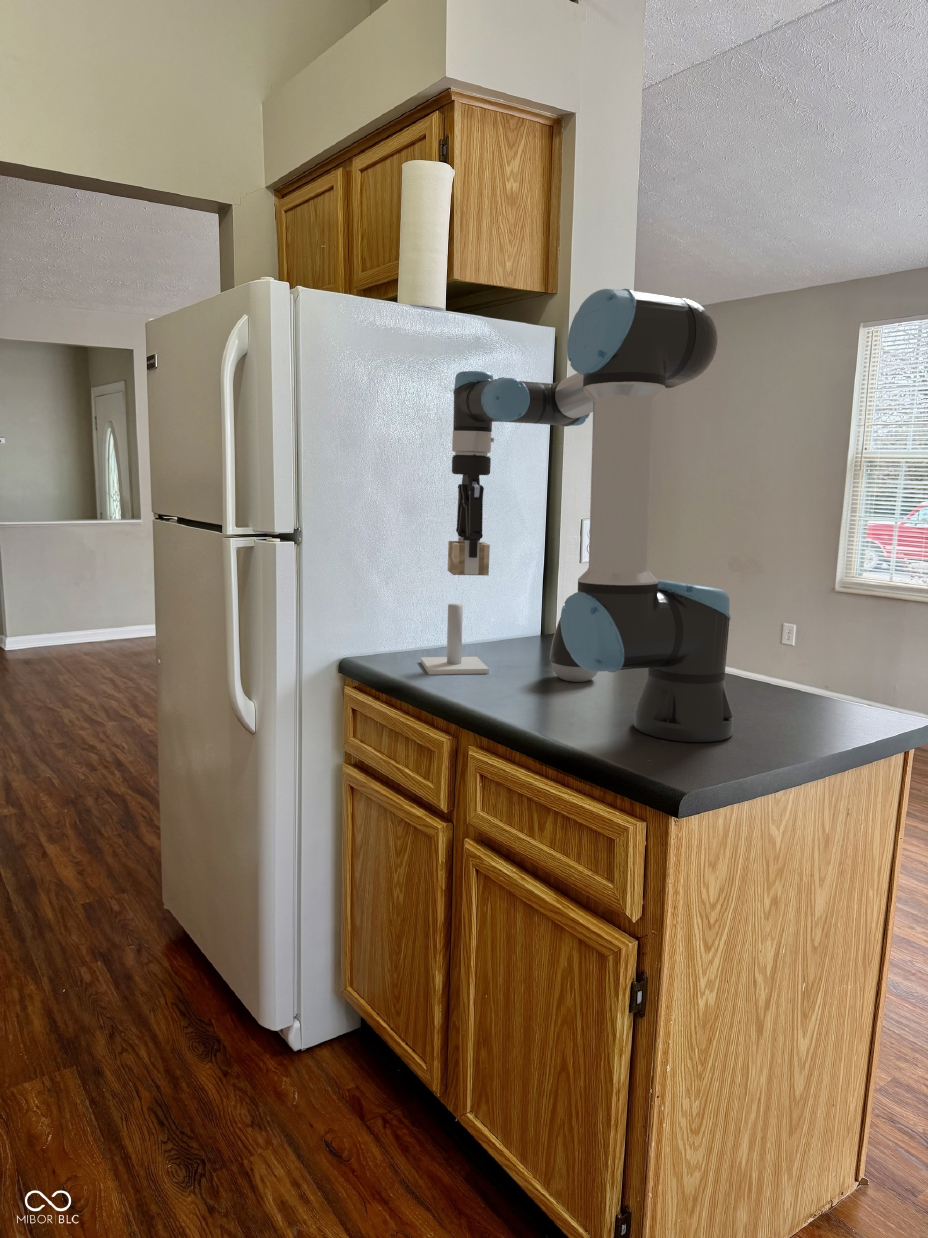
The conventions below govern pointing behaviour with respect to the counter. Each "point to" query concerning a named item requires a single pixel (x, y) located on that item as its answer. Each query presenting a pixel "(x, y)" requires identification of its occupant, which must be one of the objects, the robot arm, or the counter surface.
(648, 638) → the robot arm
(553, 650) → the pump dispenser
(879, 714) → the counter surface
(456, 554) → the collar
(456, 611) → the post fixture
